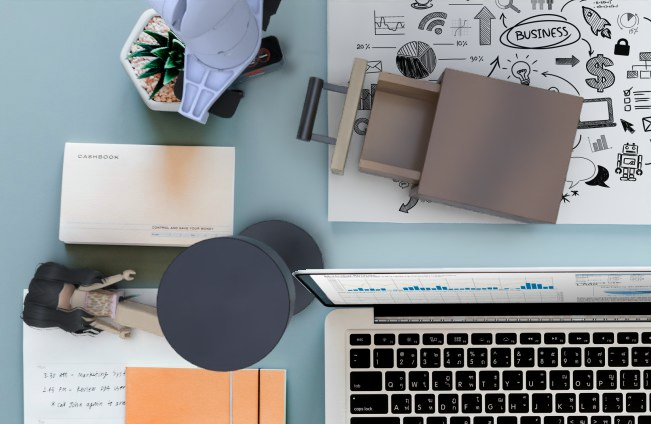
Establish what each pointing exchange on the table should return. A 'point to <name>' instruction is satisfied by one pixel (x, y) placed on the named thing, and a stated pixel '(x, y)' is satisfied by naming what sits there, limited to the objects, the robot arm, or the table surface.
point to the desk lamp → (235, 294)
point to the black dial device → (262, 62)
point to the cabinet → (499, 148)
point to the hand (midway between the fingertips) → (241, 61)
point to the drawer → (378, 123)
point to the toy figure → (84, 302)
